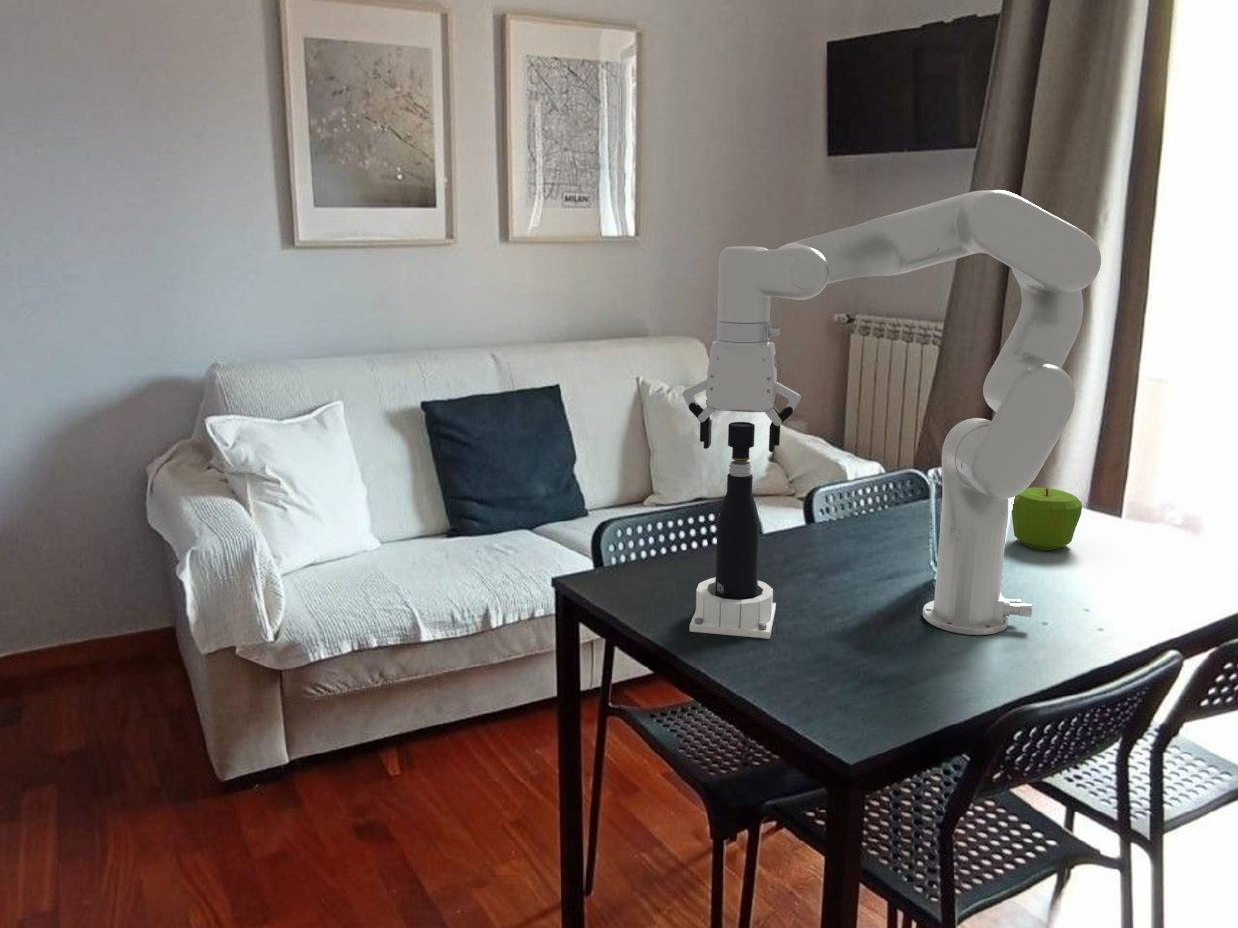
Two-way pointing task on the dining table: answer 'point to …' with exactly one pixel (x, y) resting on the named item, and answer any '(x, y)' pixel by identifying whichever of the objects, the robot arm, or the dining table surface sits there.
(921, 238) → the robot arm
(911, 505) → the dining table surface
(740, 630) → the flange socket
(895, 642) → the dining table surface
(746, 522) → the dark blue bottle
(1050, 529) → the apple
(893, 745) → the dining table surface
